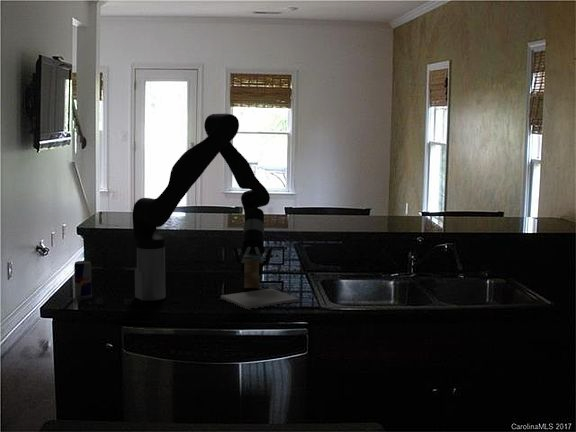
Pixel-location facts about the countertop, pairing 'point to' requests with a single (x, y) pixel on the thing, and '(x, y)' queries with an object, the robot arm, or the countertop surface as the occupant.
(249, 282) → the brown tall block
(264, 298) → the cream board
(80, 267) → the energy drink
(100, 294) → the countertop surface
